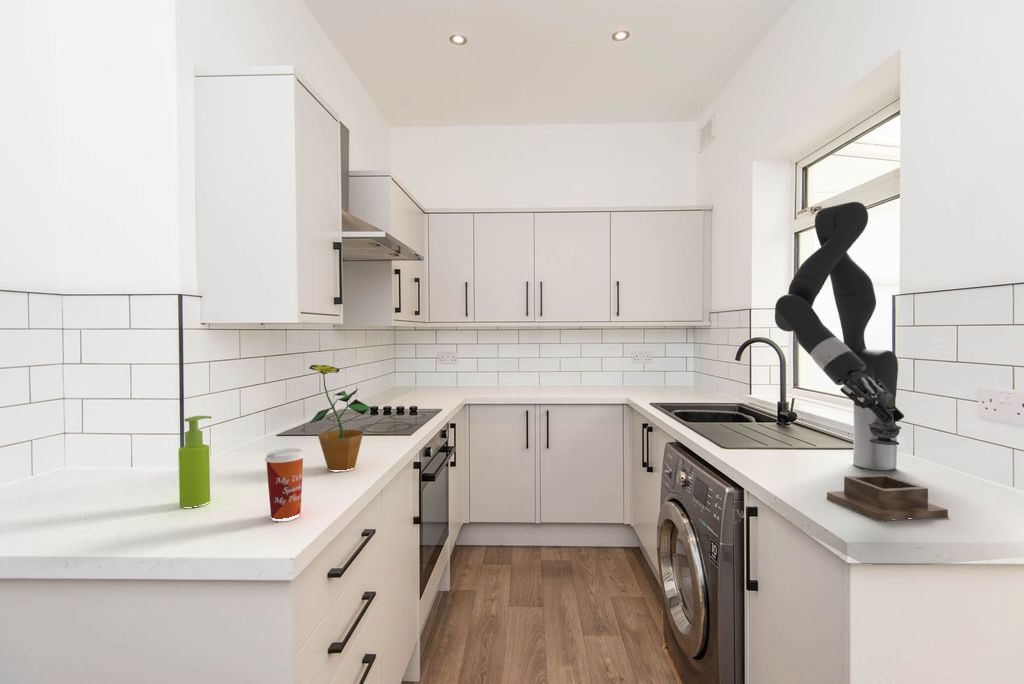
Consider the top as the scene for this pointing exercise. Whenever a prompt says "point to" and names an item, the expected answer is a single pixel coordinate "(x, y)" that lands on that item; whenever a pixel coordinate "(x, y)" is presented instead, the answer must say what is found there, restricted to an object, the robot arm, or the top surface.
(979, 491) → the top surface
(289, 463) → the paper cup
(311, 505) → the top surface
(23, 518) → the top surface
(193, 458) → the soap dispenser
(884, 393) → the salt shaker
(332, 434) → the potted plant
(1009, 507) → the top surface
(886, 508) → the stand
